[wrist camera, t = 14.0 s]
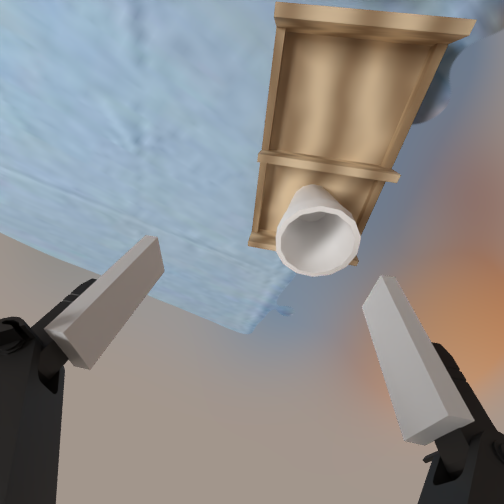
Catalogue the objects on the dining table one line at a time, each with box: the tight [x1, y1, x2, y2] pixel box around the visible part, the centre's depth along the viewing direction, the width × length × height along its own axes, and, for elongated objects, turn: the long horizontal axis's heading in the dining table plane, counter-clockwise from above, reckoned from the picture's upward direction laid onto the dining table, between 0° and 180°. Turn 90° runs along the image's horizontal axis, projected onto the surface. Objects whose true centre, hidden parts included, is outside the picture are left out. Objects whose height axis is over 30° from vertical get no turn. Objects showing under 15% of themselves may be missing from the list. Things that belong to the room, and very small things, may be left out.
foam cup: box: [276, 184, 361, 277], centre depth 30 cm, size 10×9×13 cm
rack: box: [248, 2, 476, 266], centre depth 30 cm, size 18×28×6 cm, turn 174°
